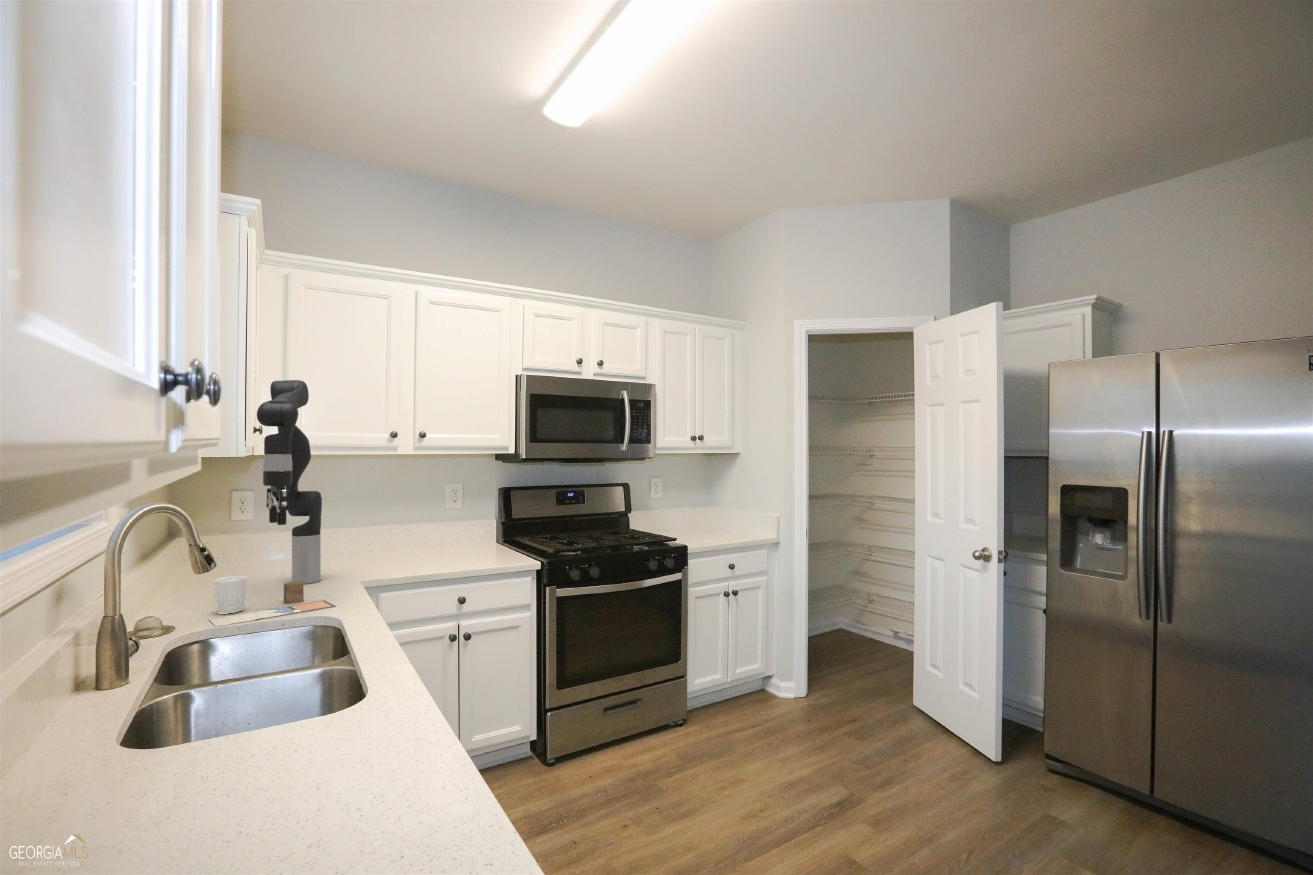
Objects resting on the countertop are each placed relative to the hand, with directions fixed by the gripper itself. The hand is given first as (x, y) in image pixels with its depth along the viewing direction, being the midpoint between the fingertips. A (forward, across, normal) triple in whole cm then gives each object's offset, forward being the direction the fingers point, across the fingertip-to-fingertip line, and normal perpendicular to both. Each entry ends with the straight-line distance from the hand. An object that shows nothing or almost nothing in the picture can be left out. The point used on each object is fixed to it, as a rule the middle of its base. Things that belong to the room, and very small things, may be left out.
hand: (277, 523), depth 189 cm
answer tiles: (+26, 0, -1) cm, 27 cm away
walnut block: (+26, -11, +8) cm, 30 cm away
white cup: (+27, -12, -10) cm, 31 cm away
